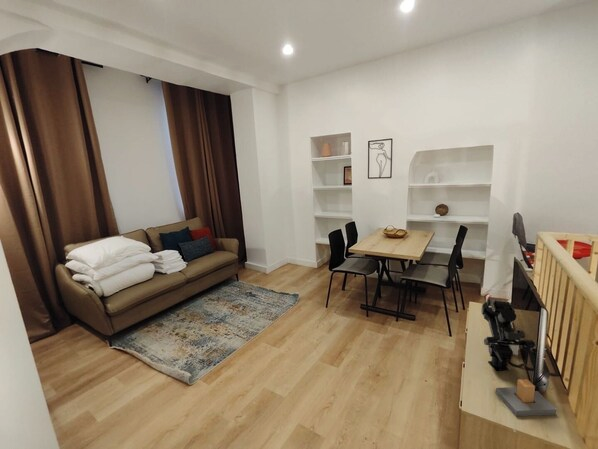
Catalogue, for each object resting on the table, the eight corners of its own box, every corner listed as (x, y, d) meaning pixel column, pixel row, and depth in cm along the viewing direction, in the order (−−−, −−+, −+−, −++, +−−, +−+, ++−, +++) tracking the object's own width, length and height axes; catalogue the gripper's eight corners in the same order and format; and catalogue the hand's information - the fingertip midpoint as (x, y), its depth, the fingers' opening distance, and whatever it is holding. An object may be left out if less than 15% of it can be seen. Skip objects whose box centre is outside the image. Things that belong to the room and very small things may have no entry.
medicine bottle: (502, 344, 155) (503, 324, 153) (518, 348, 151) (519, 328, 148) (501, 350, 150) (502, 331, 147) (517, 355, 145) (519, 335, 143)
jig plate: (495, 392, 124) (496, 387, 123) (532, 391, 123) (532, 386, 123) (515, 416, 112) (515, 410, 112) (555, 414, 111) (556, 409, 111)
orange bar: (515, 399, 120) (517, 379, 118) (525, 398, 120) (527, 379, 118) (522, 407, 116) (525, 386, 114) (532, 406, 116) (534, 386, 114)
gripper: (487, 321, 127) (496, 358, 118) (536, 324, 121) (548, 363, 113) (480, 326, 136) (487, 361, 127) (525, 330, 131) (535, 366, 122)
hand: (514, 363), depth 122 cm, fingers open, 9 cm apart
